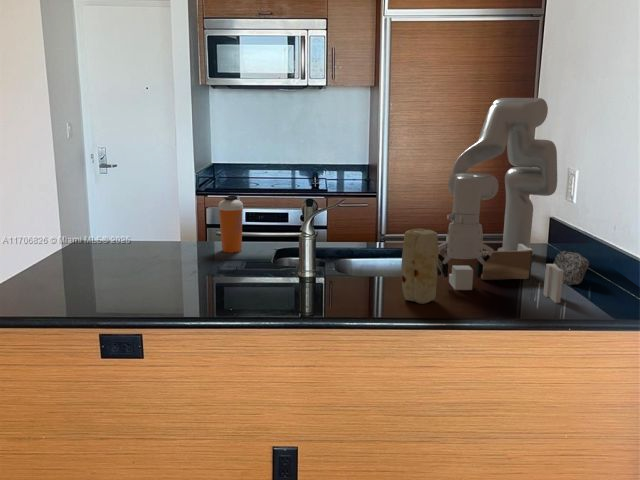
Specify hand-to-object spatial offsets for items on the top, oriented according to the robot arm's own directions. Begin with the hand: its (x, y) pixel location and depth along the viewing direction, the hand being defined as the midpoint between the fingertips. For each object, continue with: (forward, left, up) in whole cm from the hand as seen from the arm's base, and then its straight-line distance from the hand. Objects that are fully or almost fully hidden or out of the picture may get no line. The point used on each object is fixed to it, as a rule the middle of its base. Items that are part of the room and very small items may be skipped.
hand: (461, 276), depth 172 cm
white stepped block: (-2, 0, -4) cm, 4 cm away
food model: (+13, -15, -4) cm, 20 cm away
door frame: (-3, +23, -3) cm, 24 cm away
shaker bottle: (-44, -74, -4) cm, 86 cm away
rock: (-8, +35, -4) cm, 36 cm away
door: (-9, +16, -3) cm, 19 cm away
